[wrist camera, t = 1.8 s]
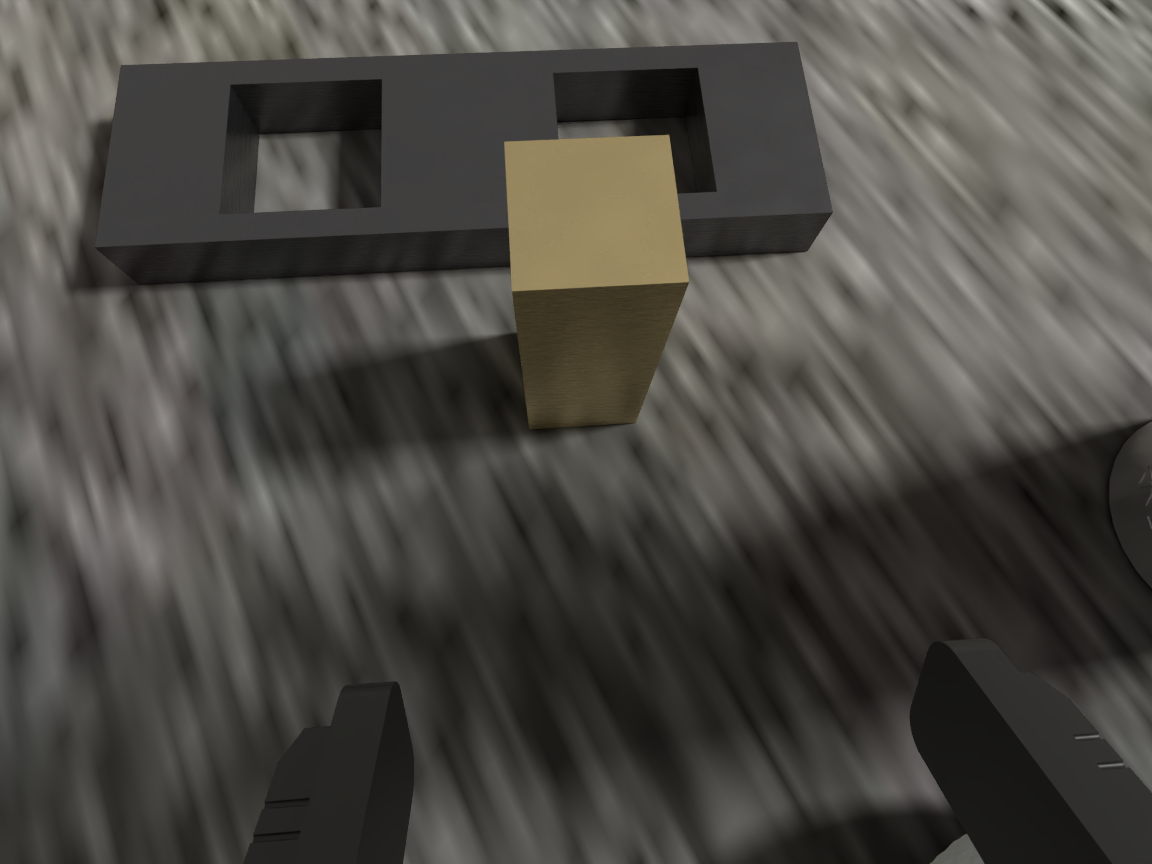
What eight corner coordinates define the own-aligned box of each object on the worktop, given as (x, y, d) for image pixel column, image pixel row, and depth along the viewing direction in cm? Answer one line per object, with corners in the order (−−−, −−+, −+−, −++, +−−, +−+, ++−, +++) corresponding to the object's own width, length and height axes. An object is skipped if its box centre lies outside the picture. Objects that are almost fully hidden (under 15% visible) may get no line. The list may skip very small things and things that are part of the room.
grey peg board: (776, 92, 34) (797, 41, 31) (807, 251, 31) (832, 212, 29) (159, 115, 33) (120, 65, 30) (138, 284, 30) (94, 247, 27)
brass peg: (625, 325, 30) (669, 134, 19) (635, 422, 29) (689, 282, 17) (523, 331, 30) (504, 141, 18) (529, 429, 29) (511, 291, 17)
